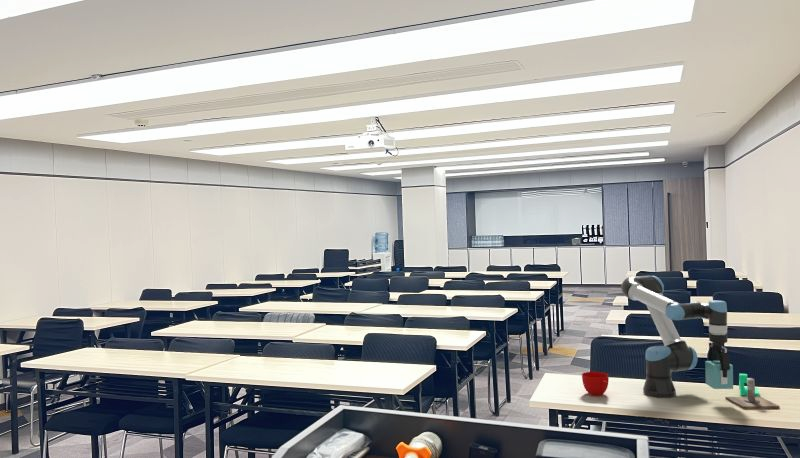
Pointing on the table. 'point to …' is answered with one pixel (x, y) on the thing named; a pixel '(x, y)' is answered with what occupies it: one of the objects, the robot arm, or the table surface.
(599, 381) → the ceramic cup
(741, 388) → the camera mount
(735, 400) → the board
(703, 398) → the table surface
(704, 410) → the table surface
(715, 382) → the teal open-top box
